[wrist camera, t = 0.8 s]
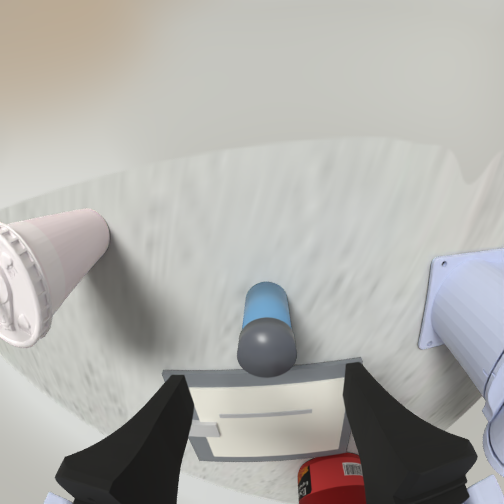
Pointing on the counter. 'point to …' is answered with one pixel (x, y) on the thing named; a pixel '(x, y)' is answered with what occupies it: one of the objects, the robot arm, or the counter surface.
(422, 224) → the counter surface
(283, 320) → the marker
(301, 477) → the canned food
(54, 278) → the smoothie
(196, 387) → the clipboard
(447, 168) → the counter surface
